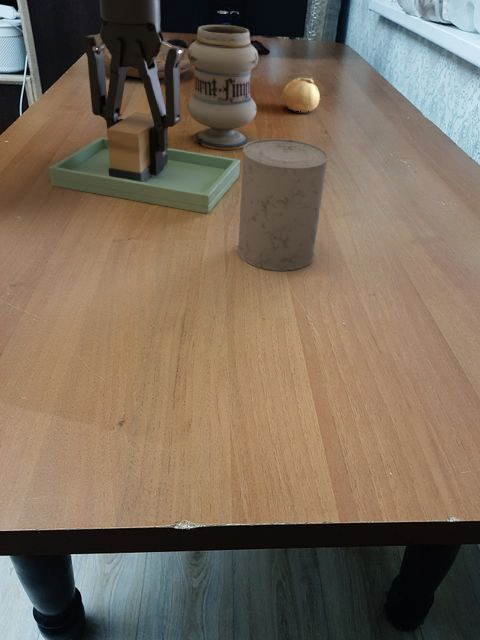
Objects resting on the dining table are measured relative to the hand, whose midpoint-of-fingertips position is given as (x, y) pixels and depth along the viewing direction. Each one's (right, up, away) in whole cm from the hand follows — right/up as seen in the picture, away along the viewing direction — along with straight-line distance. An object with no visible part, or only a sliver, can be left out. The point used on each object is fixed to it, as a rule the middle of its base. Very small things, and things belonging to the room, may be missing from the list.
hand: (139, 168), depth 85 cm
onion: (+26, +25, +39) cm, 53 cm away
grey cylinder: (+20, -15, -14) cm, 29 cm away
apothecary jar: (+11, +11, +18) cm, 24 cm away
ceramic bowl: (-10, +41, +55) cm, 69 cm away
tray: (+1, -2, +1) cm, 2 cm away
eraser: (0, 0, 0) cm, 0 cm away
